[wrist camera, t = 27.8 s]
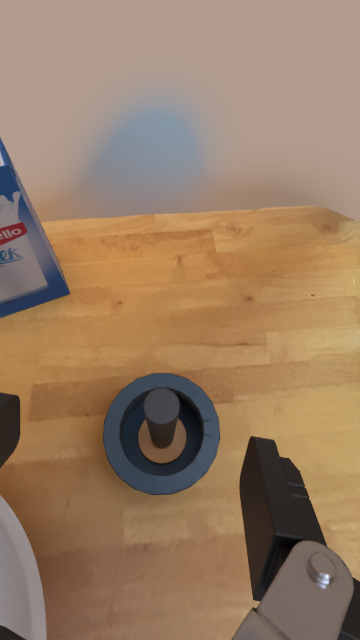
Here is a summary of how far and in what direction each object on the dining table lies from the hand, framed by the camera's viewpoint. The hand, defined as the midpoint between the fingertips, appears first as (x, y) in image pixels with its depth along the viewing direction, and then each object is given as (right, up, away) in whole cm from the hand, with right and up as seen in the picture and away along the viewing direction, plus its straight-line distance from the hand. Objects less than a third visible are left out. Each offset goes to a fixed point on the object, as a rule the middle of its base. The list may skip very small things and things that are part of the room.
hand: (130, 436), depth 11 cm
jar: (0, -9, +25) cm, 27 cm away
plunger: (0, -9, +24) cm, 26 cm away
